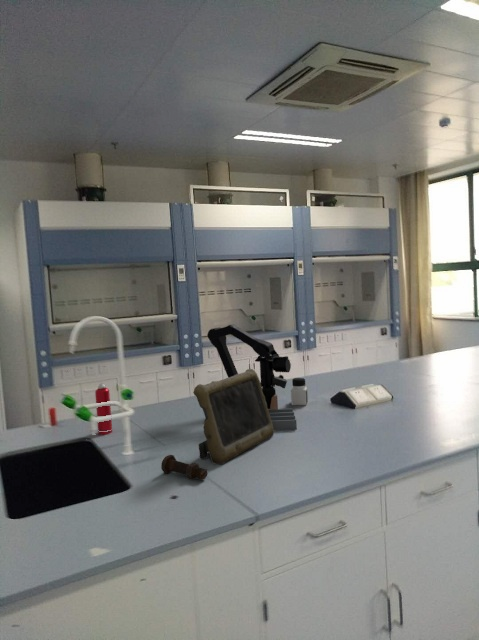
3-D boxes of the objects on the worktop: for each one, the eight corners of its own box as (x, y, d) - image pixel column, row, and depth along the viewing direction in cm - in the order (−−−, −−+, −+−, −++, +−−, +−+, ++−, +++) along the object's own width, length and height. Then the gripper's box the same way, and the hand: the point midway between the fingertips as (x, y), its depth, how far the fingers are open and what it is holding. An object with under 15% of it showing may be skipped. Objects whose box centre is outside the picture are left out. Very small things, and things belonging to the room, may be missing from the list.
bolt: (203, 488, 130) (165, 476, 138) (212, 474, 133) (175, 463, 141) (196, 475, 127) (158, 463, 135) (206, 461, 130) (168, 451, 139)
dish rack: (260, 430, 173) (259, 421, 172) (259, 418, 189) (259, 409, 189) (296, 429, 172) (296, 420, 172) (293, 416, 189) (292, 408, 189)
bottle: (108, 429, 185) (104, 381, 184) (114, 431, 181) (111, 383, 180) (95, 432, 181) (92, 384, 180) (102, 435, 178) (98, 385, 176)
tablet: (228, 467, 139) (224, 388, 137) (193, 460, 146) (188, 385, 145) (276, 435, 167) (273, 369, 165) (244, 430, 174) (241, 367, 172)
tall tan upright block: (259, 415, 194) (258, 397, 194) (259, 413, 197) (258, 395, 197) (278, 414, 194) (277, 396, 194) (277, 412, 197) (276, 394, 197)
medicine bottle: (307, 405, 206) (305, 379, 205) (291, 405, 207) (290, 379, 207) (307, 401, 213) (306, 376, 212) (292, 401, 214) (291, 376, 214)
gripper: (286, 374, 185) (288, 411, 186) (283, 366, 204) (285, 400, 205) (259, 376, 185) (261, 413, 186) (259, 368, 204) (261, 401, 205)
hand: (268, 406), depth 196 cm, fingers open, 6 cm apart
